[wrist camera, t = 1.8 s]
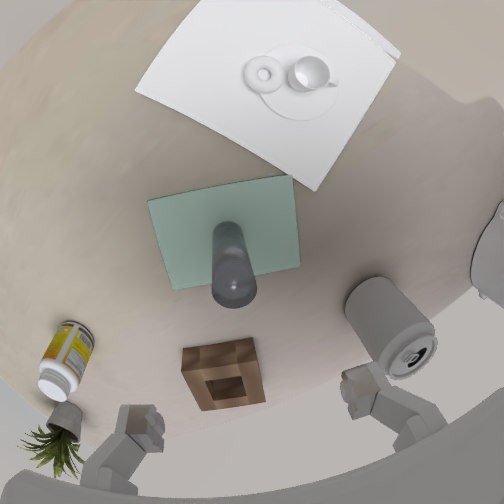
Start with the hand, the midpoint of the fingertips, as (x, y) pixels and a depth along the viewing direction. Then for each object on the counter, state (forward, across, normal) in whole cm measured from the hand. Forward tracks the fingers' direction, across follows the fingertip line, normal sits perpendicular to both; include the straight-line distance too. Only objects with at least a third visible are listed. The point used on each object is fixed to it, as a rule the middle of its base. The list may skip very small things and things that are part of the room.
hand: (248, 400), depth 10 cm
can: (+19, -16, +12) cm, 28 cm away
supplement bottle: (+20, +23, +10) cm, 32 cm away
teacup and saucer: (+19, -8, -17) cm, 27 cm away
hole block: (+19, +4, +18) cm, 27 cm away
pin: (+19, 0, 0) cm, 19 cm away
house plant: (+20, +36, +27) cm, 49 cm away
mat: (+19, 0, 0) cm, 19 cm away
